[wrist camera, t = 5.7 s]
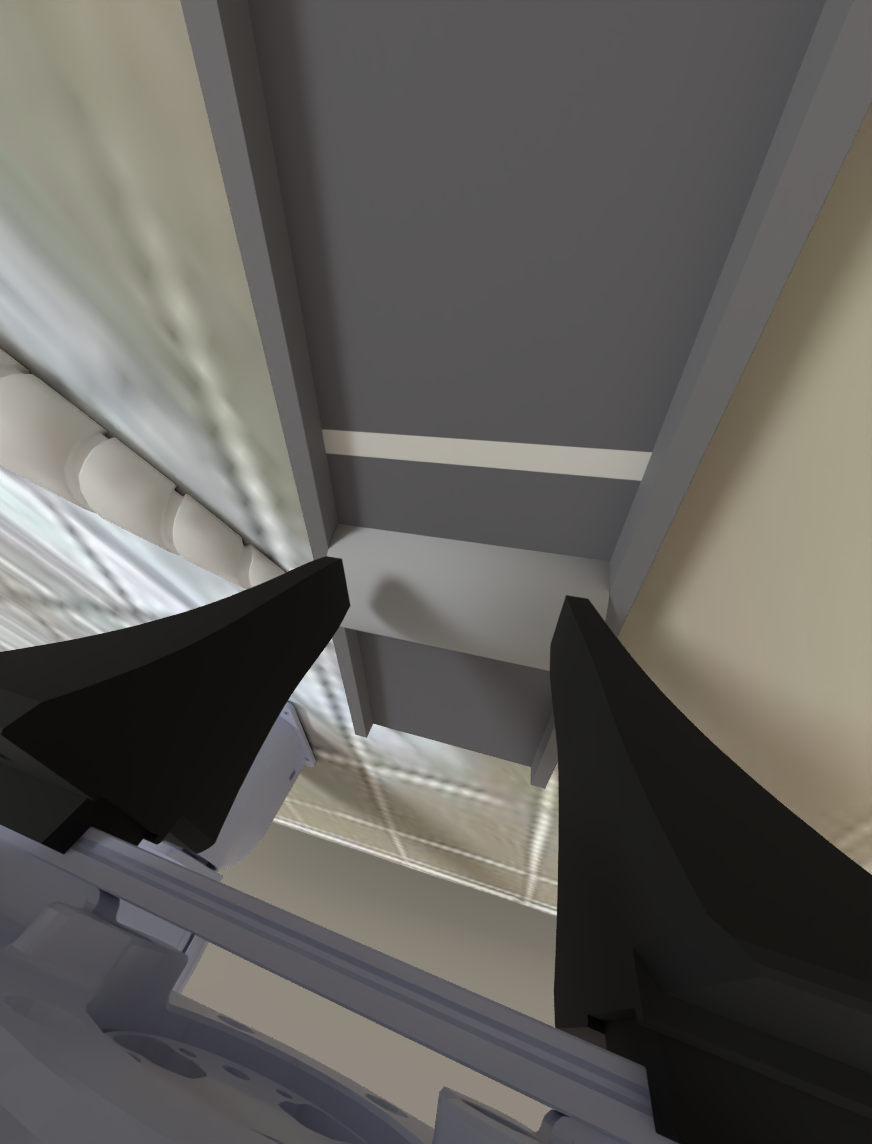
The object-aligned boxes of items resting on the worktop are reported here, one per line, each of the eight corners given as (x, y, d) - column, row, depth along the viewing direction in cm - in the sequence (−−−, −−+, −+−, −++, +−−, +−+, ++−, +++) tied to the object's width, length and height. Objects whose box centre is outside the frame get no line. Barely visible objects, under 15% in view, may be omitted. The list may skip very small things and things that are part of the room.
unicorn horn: (320, 649, 20) (268, 719, 16) (-81, 341, 15) (-301, 332, 11) (359, 615, 17) (307, 689, 13) (-113, 226, 12) (-419, 161, 8)
